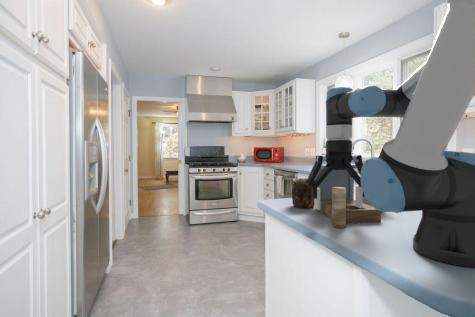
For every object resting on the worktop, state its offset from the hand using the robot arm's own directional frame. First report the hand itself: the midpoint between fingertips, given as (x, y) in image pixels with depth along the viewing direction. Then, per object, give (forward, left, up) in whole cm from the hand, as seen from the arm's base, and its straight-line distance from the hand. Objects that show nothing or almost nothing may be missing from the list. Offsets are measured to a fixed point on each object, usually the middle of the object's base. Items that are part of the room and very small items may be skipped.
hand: (338, 208), depth 84 cm
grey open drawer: (+18, -9, -6) cm, 21 cm away
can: (+21, -24, -6) cm, 32 cm away
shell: (+29, 0, -6) cm, 29 cm away
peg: (0, 0, -6) cm, 6 cm away
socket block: (+12, -9, -6) cm, 16 cm away
